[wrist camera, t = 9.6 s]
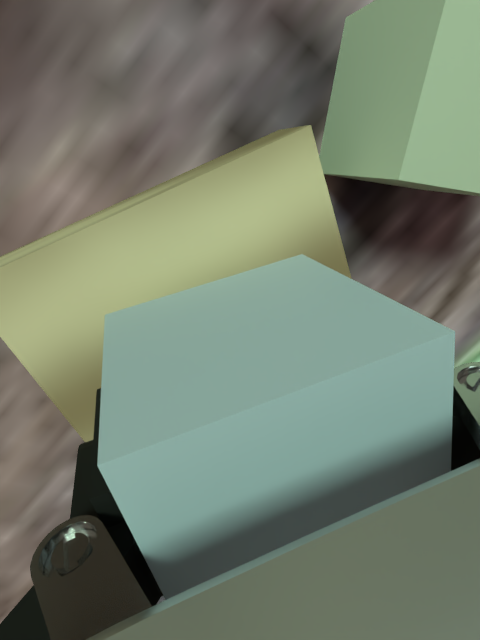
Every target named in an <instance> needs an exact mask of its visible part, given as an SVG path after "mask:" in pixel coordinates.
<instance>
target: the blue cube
mask: <svg viewBox="0 0 480 640" xmlns="http://www.w3.org/2000/svg"><path fill="white" fill-rule="evenodd" d="M454 351H455V331H453V330H451V329H449V328H447V327H445V326H443V325H441V324H439V323H437V322H435V321H433V320H431V319H429V318H427V317H425V316H423V315H421V314H419V313H417V312H416V311H414V310H412V309H410V308H408V307H406V306H404V305H402V304H400V303H398V302H396V301H394V300H392V299H390V298H388V297H386V296H384V295H382V294H380V293H378V292H376V291H374V290H372V289H370V288H368V287H366V286H364V285H362V284H360V283H358V282H356V281H354V280H352V279H350V278H348V277H346V276H345V275H343V274H341V273H339V272H337V271H335V270H333V269H331V268H329V267H327V266H325V265H323V264H321V263H319V262H317V261H315V260H313V259H311V258H309V257H307V256H305V255H303V254H300V255H297V256H294V257H291V258H287V259H284V260H281V261H278V262H274V263H271V264H268V265H265V266H261V267H258V268H255V269H252V270H248V271H245V272H242V273H239V274H236V275H232V276H229V277H226V278H223V279H219V280H216V281H213V282H210V283H206V284H203V285H200V286H197V287H193V288H190V289H187V290H184V291H180V292H177V293H174V294H171V295H167V296H164V297H161V298H158V299H154V300H151V301H148V302H145V303H141V304H138V305H135V306H132V307H128V308H125V309H122V310H119V311H115V312H112V313H109V314H106V315H105V322H104V342H103V362H102V382H101V402H100V422H99V442H98V462H97V466H98V468H99V470H100V472H101V474H102V476H103V478H104V480H105V482H106V484H107V486H108V488H109V490H110V492H111V493H112V495H113V497H114V499H115V501H116V503H117V505H118V507H119V509H120V511H121V513H122V515H123V517H124V519H125V521H126V523H127V525H128V527H129V529H130V531H131V533H132V535H133V537H134V539H135V541H136V543H137V545H138V546H139V548H140V550H141V552H142V554H143V556H144V558H145V560H146V562H147V564H148V566H149V568H150V570H151V572H152V574H153V576H154V578H155V580H156V582H157V584H158V586H159V588H160V590H161V592H162V594H163V596H164V598H165V600H167V599H169V598H171V597H173V596H175V595H178V594H180V593H182V592H184V591H186V590H188V589H190V588H192V587H195V586H197V585H199V584H201V583H203V582H205V581H208V580H210V579H212V578H214V577H216V576H219V575H221V574H223V573H225V572H227V571H230V570H232V569H234V568H236V567H238V566H241V565H243V564H245V563H247V562H249V561H252V560H254V559H256V558H258V557H260V556H263V555H265V554H267V553H269V552H271V551H274V550H276V549H278V548H280V547H282V546H285V545H287V544H289V543H291V542H293V541H296V540H298V539H300V538H302V537H304V536H307V535H309V534H311V533H313V532H316V531H318V530H320V529H322V528H324V527H327V526H329V525H331V524H333V523H336V522H338V521H340V520H342V519H344V518H347V517H349V516H351V515H353V514H356V513H358V512H360V511H362V510H365V509H367V508H369V507H371V506H374V505H376V504H378V503H380V502H382V501H385V500H387V499H389V498H391V497H394V496H396V495H398V494H400V493H403V492H405V491H407V490H409V489H412V488H414V487H416V486H418V485H421V484H423V483H425V482H427V481H430V480H432V479H434V478H436V477H439V476H441V475H443V474H446V473H448V472H450V471H451V450H452V417H453V384H454Z"/></svg>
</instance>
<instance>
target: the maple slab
mask: <svg viewBox="0 0 480 640" xmlns="http://www.w3.org/2000/svg"><path fill="white" fill-rule="evenodd" d="M300 254H303V255H305V256H307V257H309V258H311V259H313V260H315V261H317V262H319V263H321V264H323V265H325V266H327V267H329V268H331V269H333V270H335V271H337V272H339V273H341V274H343V275H345V276H346V277H348V278H350V279H351V275H350V271H349V268H348V264H347V260H346V256H345V252H344V249H343V245H342V241H341V237H340V234H339V230H338V226H337V222H336V219H335V215H334V211H333V207H332V203H331V200H330V196H329V192H328V188H327V185H326V181H325V177H324V173H323V169H322V166H321V162H320V158H319V154H318V151H317V147H316V143H315V139H314V136H313V132H312V128H311V125H308V126H302V127H295V128H289V129H282V130H278V131H276V132H273V133H271V134H269V135H267V136H265V137H262V138H260V139H258V140H256V141H254V142H251V143H249V144H247V145H245V146H243V147H240V148H238V149H236V150H234V151H232V152H229V153H227V154H225V155H223V156H221V157H218V158H216V159H214V160H212V161H210V162H207V163H205V164H203V165H201V166H199V167H196V168H194V169H192V170H190V171H188V172H185V173H183V174H181V175H179V176H177V177H174V178H172V179H170V180H168V181H166V182H163V183H161V184H159V185H157V186H155V187H152V188H150V189H148V190H146V191H144V192H142V193H139V194H137V195H135V196H133V197H131V198H128V199H126V200H124V201H122V202H120V203H117V204H115V205H113V206H111V207H109V208H106V209H104V210H102V211H100V212H98V213H95V214H93V215H91V216H89V217H87V218H84V219H82V220H80V221H78V222H76V223H73V224H71V225H69V226H67V227H65V228H62V229H60V230H58V231H56V232H54V233H51V234H49V235H47V236H45V237H43V238H40V239H38V240H36V241H34V242H32V243H29V244H27V245H25V246H23V247H21V248H18V249H16V250H14V251H12V252H10V253H7V254H5V255H3V256H1V257H0V337H1V338H2V339H3V340H4V342H5V343H6V344H7V345H8V347H9V348H10V349H11V350H12V352H13V353H14V354H15V355H16V357H17V358H18V359H19V360H20V362H21V363H22V364H23V365H24V367H25V368H26V369H27V370H28V372H29V373H30V374H31V375H32V377H33V378H34V379H35V380H36V382H37V383H38V384H39V385H40V387H41V388H42V389H43V390H44V392H45V393H46V394H47V395H48V397H49V398H50V399H51V400H52V402H53V403H54V404H55V405H56V406H57V408H58V409H59V410H60V411H61V413H62V414H63V415H64V416H65V418H66V419H67V420H68V421H69V423H70V424H71V425H72V426H73V428H74V429H75V430H76V431H77V433H78V434H79V435H80V436H81V438H82V439H83V440H84V441H85V442H88V441H91V440H93V436H94V422H95V407H96V392H97V389H99V388H101V382H102V362H103V342H104V322H105V315H106V314H109V313H112V312H115V311H119V310H122V309H125V308H128V307H132V306H135V305H138V304H141V303H145V302H148V301H151V300H154V299H158V298H161V297H164V296H167V295H171V294H174V293H177V292H180V291H184V290H187V289H190V288H193V287H197V286H200V285H203V284H206V283H210V282H213V281H216V280H219V279H223V278H226V277H229V276H232V275H236V274H239V273H242V272H245V271H248V270H252V269H255V268H258V267H261V266H265V265H268V264H271V263H274V262H278V261H281V260H284V259H287V258H291V257H294V256H297V255H300Z"/></svg>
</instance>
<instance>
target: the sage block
mask: <svg viewBox="0 0 480 640" xmlns="http://www.w3.org/2000/svg"><path fill="white" fill-rule="evenodd" d="M319 158H320V162H321V166H322V169H323V173H324V174H326V175H332V176H338V177H345V178H351V179H357V180H363V181H369V182H376V183H382V184H388V185H394V186H401V187H407V188H413V189H419V190H428V191H437V192H446V193H455V194H465V195H474V196H480V0H375V1H373V2H372V3H370V4H368V5H367V6H365V7H363V8H361V9H360V10H358V11H356V12H355V13H353V14H351V15H350V16H348V17H346V20H345V25H344V30H343V36H342V41H341V46H340V51H339V56H338V62H337V67H336V72H335V77H334V82H333V88H332V93H331V98H330V103H329V108H328V114H327V119H326V124H325V129H324V135H323V140H322V145H321V150H320V155H319Z"/></svg>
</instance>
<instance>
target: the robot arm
mask: <svg viewBox="0 0 480 640" xmlns="http://www.w3.org/2000/svg"><path fill="white" fill-rule="evenodd" d="M100 402H101V388H99V389H97V392H96V407H95V422H94V436H93V440H91V441H88V442H85V443H83V444H81V445H80V446H79V449H78V455H77V464H76V472H75V481H74V490H73V498H72V507H71V515H70V519H69V520H67V521H65V522H63V523H62V524H60V525H58V526H57V527H56V528H55V529H53V530H52V531H51V532H50V533H48V535H47V536H46V537H45V538H44V539H43V540H42V542H41V543H40V544H39V546H38V547H37V549H36V551H35V553H34V554H33V557H32V561H31V565H30V572H31V578H32V581H33V584H34V586H33V587H32V588H31V589H30V590H29V591H28V592H27V594H26V595H25V596H24V597H23V598H22V599H21V601H20V602H19V603H18V604H17V605H16V606H15V608H14V609H13V610H12V611H11V612H10V613H9V614H8V616H7V617H6V618H5V619H4V620H3V621H2V623H1V624H0V640H480V362H471V363H466V364H462V365H460V366H458V367H456V368H454V384H453V417H452V450H451V471H450V472H448V473H446V474H443V475H441V476H439V477H436V478H434V479H432V480H430V481H427V482H425V483H423V484H421V485H418V486H416V487H414V488H412V489H409V490H407V491H405V492H403V493H400V494H398V495H396V496H394V497H391V498H389V499H387V500H385V501H382V502H380V503H378V504H376V505H374V506H371V507H369V508H367V509H365V510H362V511H360V512H358V513H356V514H353V515H351V516H349V517H347V518H344V519H342V520H340V521H338V522H336V523H333V524H331V525H329V526H327V527H324V528H322V529H320V530H318V531H316V532H313V533H311V534H309V535H307V536H304V537H302V538H300V539H298V540H296V541H293V542H291V543H289V544H287V545H285V546H282V547H280V548H278V549H276V550H274V551H271V552H269V553H267V554H265V555H263V556H260V557H258V558H256V559H254V560H252V561H249V562H247V563H245V564H243V565H241V566H238V567H236V568H234V569H232V570H230V571H227V572H225V573H223V574H221V575H219V576H216V577H214V578H212V579H210V580H208V581H205V582H203V583H201V584H199V585H197V586H195V587H192V588H190V589H188V590H186V591H184V592H182V593H180V594H178V595H175V596H173V597H171V598H169V599H167V600H165V601H163V602H161V603H159V604H157V602H158V600H159V599H160V597H161V596H163V594H162V592H161V590H160V588H159V586H158V584H157V582H156V580H155V578H154V576H153V574H152V572H151V570H150V568H149V566H148V564H147V562H146V560H145V558H144V556H143V554H142V552H141V550H140V548H139V546H138V545H137V543H136V541H135V539H134V537H133V535H132V533H131V531H130V529H129V527H128V525H127V523H126V521H125V519H124V517H123V515H122V513H121V511H120V509H119V507H118V505H117V503H116V501H115V499H114V497H113V495H112V493H111V492H110V490H109V488H108V486H107V484H106V482H105V480H104V478H103V476H102V474H101V472H100V470H99V468H98V466H97V462H98V442H99V422H100ZM156 604H157V605H156Z"/></svg>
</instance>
